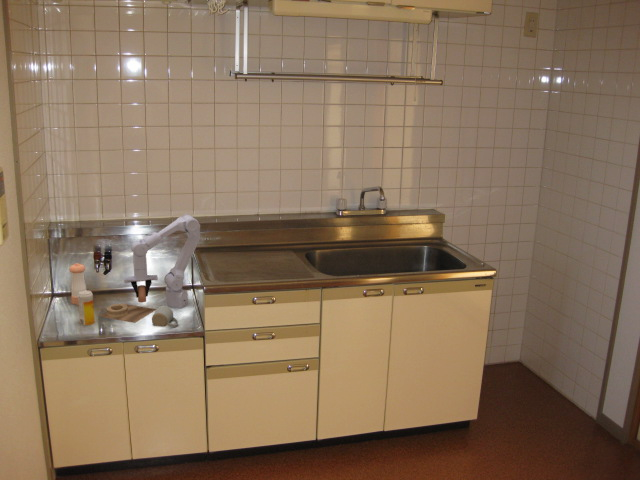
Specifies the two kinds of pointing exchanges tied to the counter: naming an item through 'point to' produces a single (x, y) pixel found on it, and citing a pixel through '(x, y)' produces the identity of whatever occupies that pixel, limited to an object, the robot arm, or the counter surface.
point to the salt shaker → (77, 281)
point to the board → (133, 313)
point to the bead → (117, 310)
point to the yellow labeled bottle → (86, 307)
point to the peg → (141, 293)
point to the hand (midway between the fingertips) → (142, 296)
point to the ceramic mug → (164, 317)
